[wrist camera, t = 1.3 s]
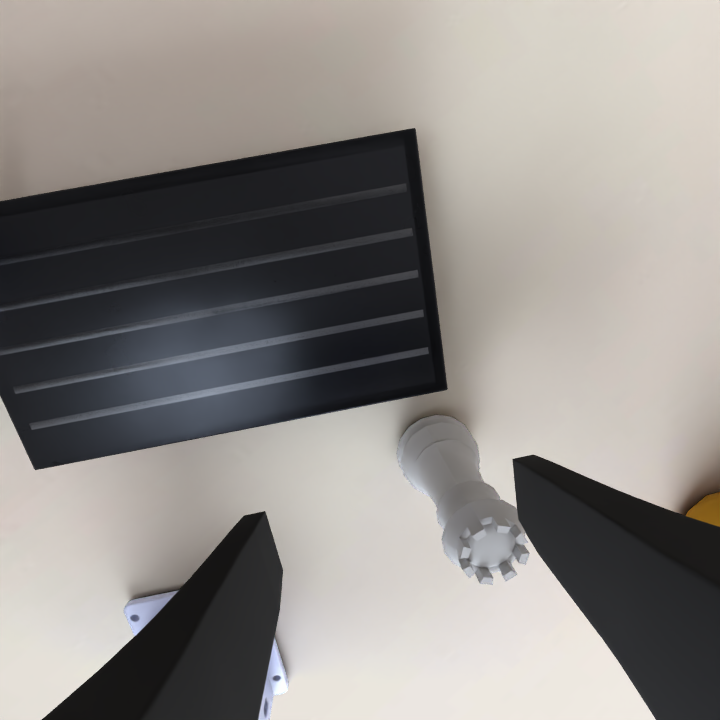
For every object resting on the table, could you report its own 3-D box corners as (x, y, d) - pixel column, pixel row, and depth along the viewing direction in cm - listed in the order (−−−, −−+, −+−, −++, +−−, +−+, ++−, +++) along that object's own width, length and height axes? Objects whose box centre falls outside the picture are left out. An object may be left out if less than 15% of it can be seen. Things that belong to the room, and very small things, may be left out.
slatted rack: (427, 369, 19) (448, 390, 15) (90, 435, 18) (34, 470, 15) (399, 158, 16) (415, 127, 13) (6, 228, 16) (-85, 215, 12)
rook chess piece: (383, 430, 19) (414, 532, 12) (455, 399, 19) (536, 481, 12) (412, 492, 21) (458, 623, 13) (480, 463, 20) (569, 577, 13)
